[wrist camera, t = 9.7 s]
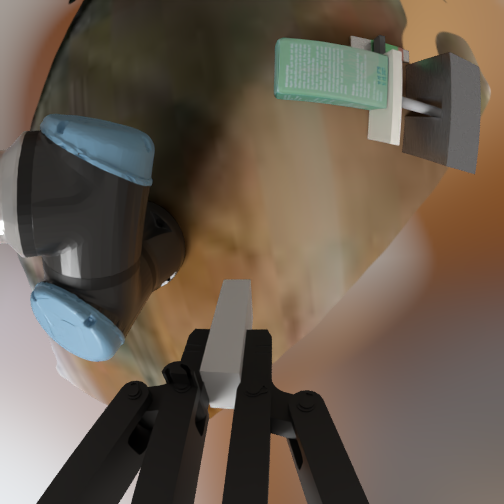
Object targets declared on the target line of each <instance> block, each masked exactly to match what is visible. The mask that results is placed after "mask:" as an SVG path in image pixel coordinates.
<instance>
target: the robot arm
mask: <svg viewBox="0 0 504 504" xmlns="http://www.w3.org/2000/svg"><path fill="white" fill-rule="evenodd" d="M154 152H155V148H154V144H153V141H152V139H151V138H150V137H149V136H148V135H147V134H146V133H144V132H142V131H140V130H137V129H134V128H131V127H128V126H125V125H121V124H117V123H113V122H109V121H104V120H100V119H94V118H89V117H82V116H75V115H60V114H50V115H47V116H46V117H45V118H44V120H43V122H42V123H41V124H40V131H26V132H23V133H22V134H21V135H20V136H19V137H18V139H17V140H16V141H15V142H14V143H13V144H12V145H11V147H9V148H8V149H6V150H0V244H3V243H7V244H9V245H10V246H11V247H12V248H13V249H14V250H15V251H16V252H17V253H18V254H19V255H20V256H21V257H32V256H42V261H43V269H44V279H43V281H42V282H40V283H38V284H36V286H35V289H34V291H33V292H32V294H31V299H30V300H31V307H32V310H33V313H34V315H35V317H36V319H37V320H38V322H39V323H40V325H41V326H42V328H43V329H44V330H45V331H46V332H47V334H48V335H49V336H50V337H51V338H52V339H53V340H54V341H56V342H57V343H58V344H59V345H60V346H62V347H63V348H64V349H66V350H67V351H69V352H71V353H72V354H74V355H76V356H78V357H80V358H83V359H86V360H89V361H96V362H98V361H105V360H108V359H110V358H111V357H112V356H113V355H114V354H115V353H116V351H117V350H118V349H119V347H120V346H121V345H122V344H123V343H124V340H125V337H126V336H127V334H128V332H129V330H130V329H131V327H132V325H133V323H134V322H135V320H136V318H137V317H138V315H139V313H140V311H141V310H142V308H143V306H144V305H145V303H146V301H147V300H148V298H149V296H150V295H151V293H152V292H153V291H155V290H157V289H158V288H160V287H161V286H163V285H165V284H167V283H168V282H170V281H171V280H172V279H173V278H174V277H175V275H176V274H177V272H178V271H179V269H180V267H181V265H182V263H183V261H184V257H185V241H184V237H183V234H182V231H181V229H180V227H179V225H178V224H177V222H176V221H175V219H174V218H173V217H172V216H171V215H170V214H169V213H168V212H167V211H166V210H165V209H163V208H162V207H160V206H159V205H157V204H155V203H152V202H149V201H148V196H149V190H150V186H151V185H152V178H151V175H152V166H153V159H154ZM252 321H253V313H252V296H251V280H224V281H223V284H222V288H221V292H220V295H219V299H218V303H217V306H216V310H215V314H214V318H213V321H212V325H211V329H195V330H194V331H193V332H192V333H191V334H190V335H189V337H188V340H187V343H186V344H187V345H186V346H185V349H184V352H183V355H182V358H181V361H176V362H172V363H170V364H168V365H167V366H165V367H164V369H163V370H162V374H163V376H164V378H165V380H166V384H164V385H160V386H153V387H147V385H146V384H144V383H143V382H140V381H131V382H129V383H127V384H125V385H124V386H123V387H122V388H121V390H120V391H119V392H118V394H117V395H116V396H115V397H114V399H113V400H112V401H111V403H110V404H109V405H108V407H107V408H106V409H105V411H104V412H103V413H102V415H101V416H100V417H99V418H98V420H97V421H96V422H95V424H94V425H93V426H92V428H91V429H90V430H89V432H88V433H87V434H86V436H85V437H84V439H83V440H82V441H81V443H80V444H79V445H78V447H77V448H76V449H75V451H74V452H73V453H72V455H71V456H70V457H69V459H68V460H67V462H66V463H65V464H64V466H63V467H62V469H61V470H60V471H59V473H58V474H57V475H56V477H55V478H54V479H53V481H52V482H51V484H50V485H49V487H48V488H47V489H46V491H45V492H44V494H43V495H42V496H41V498H40V499H39V501H38V502H37V504H118V503H119V502H120V500H121V499H122V497H123V495H124V494H125V492H126V490H127V489H128V487H129V486H130V484H131V483H132V481H133V479H134V478H135V476H136V475H137V473H138V471H139V469H140V468H141V470H140V473H139V476H138V480H137V484H136V487H135V491H134V494H133V498H132V502H131V504H194V499H195V493H196V488H197V482H198V476H199V470H200V465H201V459H202V454H203V448H204V442H205V437H206V431H207V426H208V421H209V413H208V405H209V403H210V406H211V407H213V408H227V409H234V414H233V422H232V430H231V438H230V445H229V453H228V461H227V469H226V477H225V484H224V492H223V501H222V504H268V488H269V486H268V485H269V464H270V463H269V462H270V434H271V433H272V434H276V435H280V436H283V437H286V438H287V442H288V445H289V448H290V451H291V454H292V457H293V460H294V463H295V467H296V470H297V473H298V476H299V479H300V482H301V485H302V488H303V491H304V494H305V497H306V500H307V503H308V504H369V502H368V500H367V498H366V495H365V493H364V491H363V489H362V486H361V484H360V482H359V479H358V477H357V475H356V473H355V471H354V468H353V466H352V464H351V461H350V459H349V457H348V454H347V452H346V450H345V448H344V446H343V443H342V441H341V439H340V436H339V434H338V432H337V430H336V427H335V425H334V423H333V421H332V418H331V416H330V414H329V411H328V409H327V407H326V405H325V403H324V400H323V399H322V397H321V396H320V395H319V394H317V393H316V392H313V391H309V390H306V391H300V392H298V393H295V394H290V393H286V392H283V391H281V390H279V389H277V388H276V387H275V386H274V384H273V382H272V374H271V373H272V336H271V335H270V333H269V331H268V330H267V329H266V330H252Z"/></svg>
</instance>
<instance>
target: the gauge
mask: <svg viewBox="0 0 504 504" xmlns="http://www.w3.org/2000/svg"><path fill="white" fill-rule="evenodd" d="M349 38H350V47H354V48H359V49H363V50H367V51H372V52H374V40H368V39H364V38H360V37H355V36H350V37H349ZM385 47H386V52H388V51H390V50H392V49H394V50H397V51H401V52H402V62H405V63H409V51H407V50H404V49H403V48H399V47H396V46H393V45H389V44H386V43H385ZM406 98H409V99H413V100H416V101H419V102H423V103H426V104H429V105H432V106H435V107H442V118H437V117H405V126H404V139H403V149H402V152H403V153H407V154H410V155H414V156H417V157H420V158H423V159H427V160H430V161H433V162H436V163H439V164H442V165H445V166H448V167H451V168H455V169H459V170H462V171H466V172H469V173H473V174H475V170H476V163H477V154H478V145H479V132H480V105H481V98H480V72H479V67H478V66H476V65H474V64H472V63H471V62H469V61H467V60H465V59H463V58H461V57H459V56H457V55H455V54H453V53H451V52H448V53H444V54H441V55H437V56H434V57H431V58H428V59H424V60H421V61H418V62H415V63H412V64H409V65H406Z"/></svg>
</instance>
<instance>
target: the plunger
mask: <svg viewBox="0 0 504 504" xmlns="http://www.w3.org/2000/svg"><path fill="white" fill-rule="evenodd" d="M374 52H376V53H379V54H383V55H386V56H388V93H387V108H385V109H374V110H369V127H368V139H370V140H375V141H380V142H385V143H389V144H394V145H399V141H400V128H401V111H402V108H404V109H408V110H411V111H415V112H419V113H422V114H425V115H429V116H432V117H437V118H442V109H441V108H438V107H435V106H432V105H429V104H426V103H423V102H419V101H416V100H413V99H409V98H406V97H402V52H401V51H397V50H394V49H392V50H390V51H388V52H386V47H385V36H381V35H379V36H377V37H376V38H375V39H374Z"/></svg>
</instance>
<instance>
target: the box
mask: <svg viewBox="0 0 504 504" xmlns="http://www.w3.org/2000/svg"><path fill="white" fill-rule="evenodd" d="M387 93H388V56H386V55H383V54H379V53H376V52H372V51H367V50H363V49H359V48H354V47H349V46H344V45H339V44H333V43H327V42H320V41H313V40H304V39H293V38H280V39H279V40H278V41H277V43H276V46H275V74H274V95H275V97H276V98H277V99H285V100H298V101H308V102H317V103H325V104H333V105H340V106H347V107H354V108H359V109H366V110H374V109H385V108H387Z"/></svg>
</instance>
